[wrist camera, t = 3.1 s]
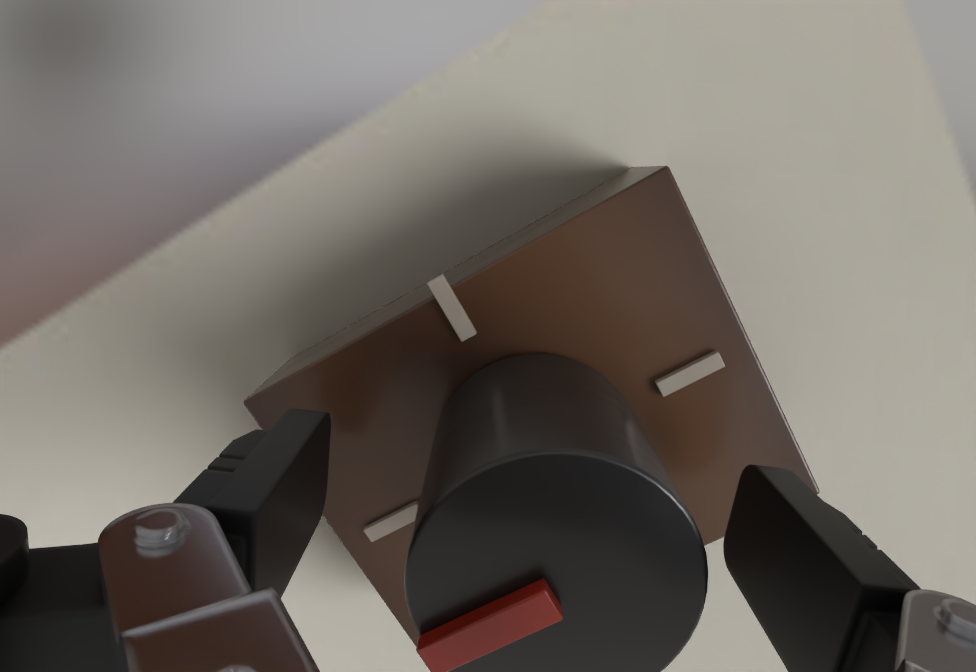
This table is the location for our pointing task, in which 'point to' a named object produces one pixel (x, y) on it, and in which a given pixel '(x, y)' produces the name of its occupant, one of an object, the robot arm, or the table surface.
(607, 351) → the panel
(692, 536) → the lock knob
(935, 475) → the table surface
